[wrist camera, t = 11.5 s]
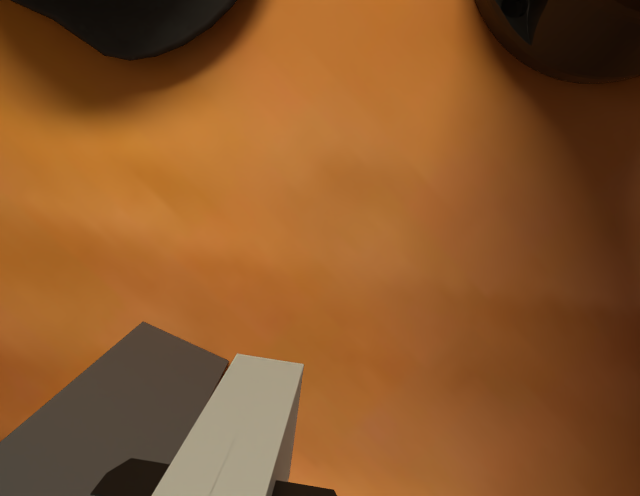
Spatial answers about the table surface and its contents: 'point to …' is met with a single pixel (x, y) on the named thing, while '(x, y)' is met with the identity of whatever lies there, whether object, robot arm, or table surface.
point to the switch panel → (112, 416)
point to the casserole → (133, 22)
